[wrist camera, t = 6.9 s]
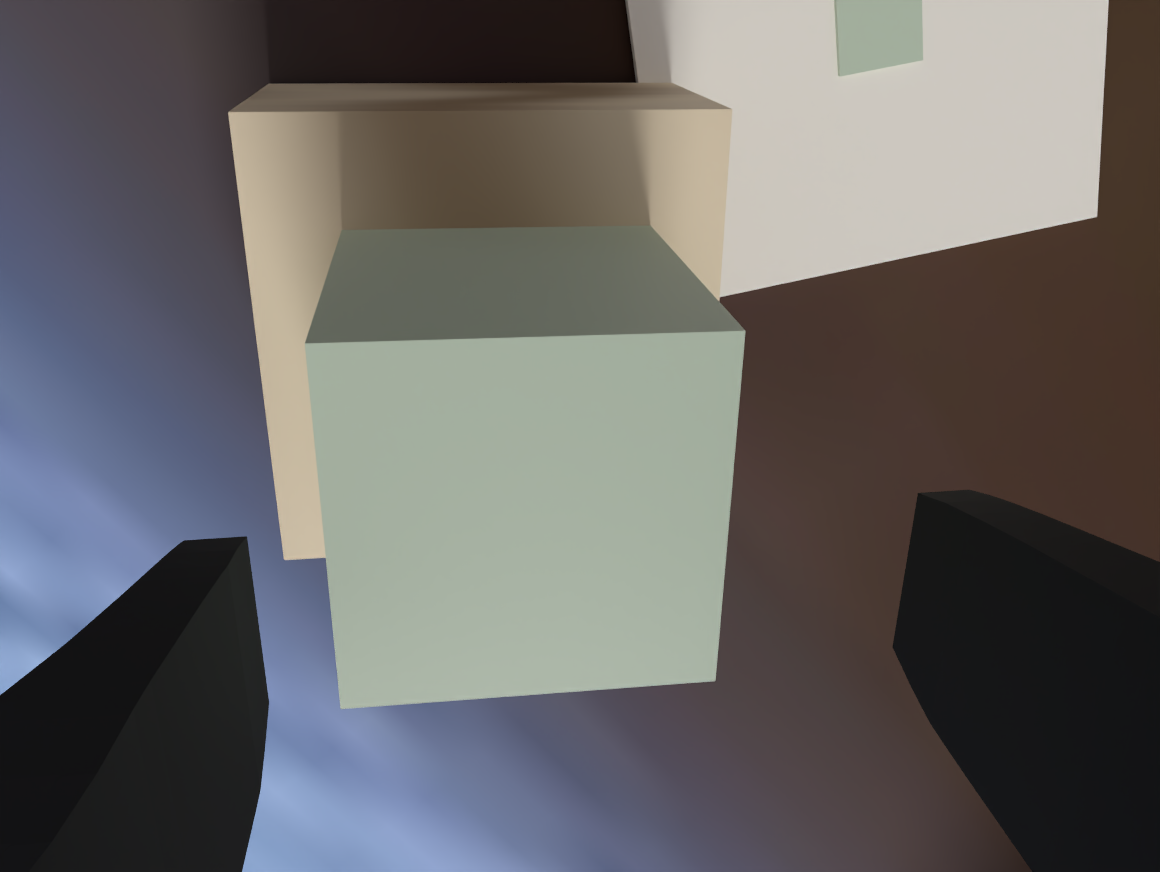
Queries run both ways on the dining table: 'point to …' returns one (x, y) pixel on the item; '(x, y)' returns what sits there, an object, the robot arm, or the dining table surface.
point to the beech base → (448, 201)
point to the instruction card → (886, 121)
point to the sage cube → (521, 461)
